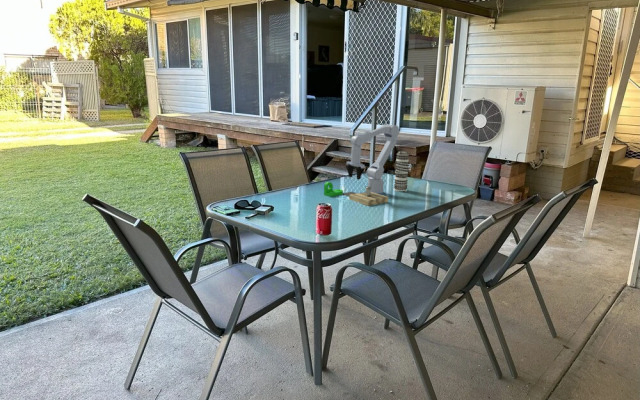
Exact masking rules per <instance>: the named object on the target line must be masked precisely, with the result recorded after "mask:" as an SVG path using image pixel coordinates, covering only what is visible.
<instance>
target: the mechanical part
mask: <svg viewBox="0 0 640 400" xmlns="http://www.w3.org/2000/svg"><path fill="white" fill-rule="evenodd" d="M343 193H344V190H343V189H340V188H335V189H334V184H333V182H331V181H326V182H325V183H324V186H323V196H327V197H331V198H332V197H338V196H341V195H342V194H343Z"/></svg>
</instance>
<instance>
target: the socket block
mask: <svg viewBox="0 0 640 400" xmlns="http://www.w3.org/2000/svg"><path fill="white" fill-rule="evenodd" d="M356 193H357V192H356ZM365 195H366V192H365V191H364V192H358V193H357V194H351V195H349V197H348V199H349V200H350V201H353V202H355V203H358V204H361V205H364V206H374V205H380V204H385V203H388V202H389V196H386V195H383V194H381V193H378V194H376V193H373V192H371V197H367V196H365Z"/></svg>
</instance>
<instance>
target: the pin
mask: <svg viewBox="0 0 640 400" xmlns="http://www.w3.org/2000/svg"><path fill="white" fill-rule="evenodd" d="M365 191H366V195H365V196H367V197H371V187H369V186H368V185H366V186H365Z"/></svg>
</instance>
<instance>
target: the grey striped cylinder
mask: <svg viewBox="0 0 640 400" xmlns="http://www.w3.org/2000/svg"><path fill="white" fill-rule="evenodd" d="M409 158H410V154H409V153H408V152H407V151H403V150H402V151H398V152H397V153H396V160H395V161H394V162H395V165H394V166H395V167H394V169H395V170H394V173H395V176H394V185H393V190H394V191H395V190H396V191H395V192H399V191H405V192H407V191H406V189H407V190H408V181H409V180H408V174H409V170H410V168H409V166H410V159H409Z"/></svg>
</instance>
